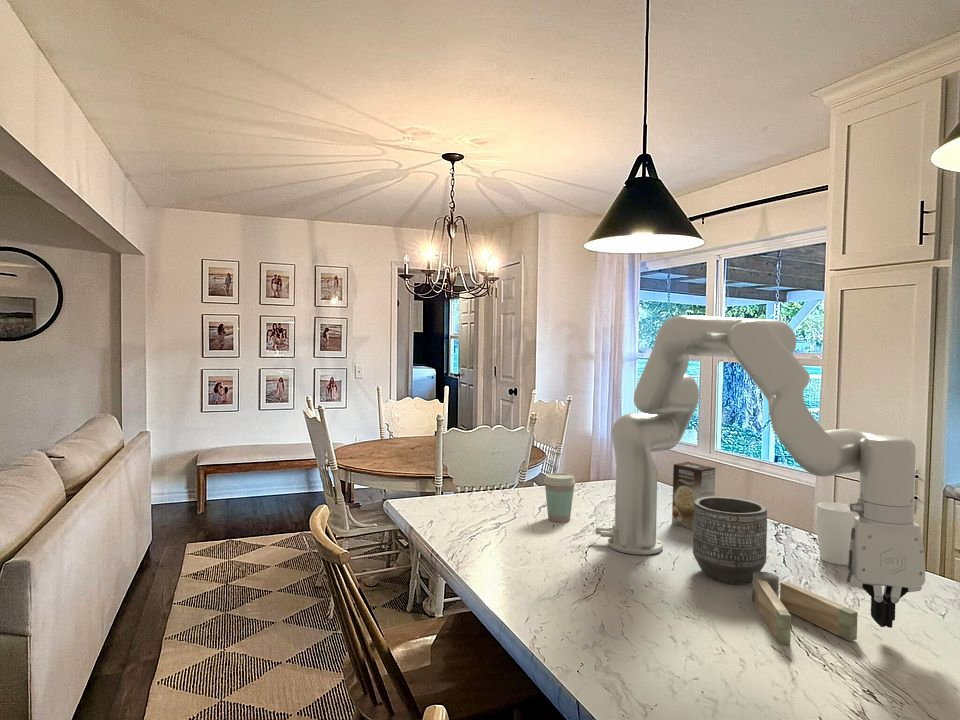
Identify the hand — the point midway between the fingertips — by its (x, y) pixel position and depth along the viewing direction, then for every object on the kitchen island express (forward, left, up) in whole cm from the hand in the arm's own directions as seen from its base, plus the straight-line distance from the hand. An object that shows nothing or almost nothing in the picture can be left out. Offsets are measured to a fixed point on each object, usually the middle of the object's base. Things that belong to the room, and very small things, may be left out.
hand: (882, 623), depth 103 cm
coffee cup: (-56, +59, -3) cm, 81 cm away
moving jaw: (-9, +4, -2) cm, 10 cm away
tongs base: (-15, +5, -3) cm, 16 cm away
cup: (+7, +40, -3) cm, 41 cm away
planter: (-19, +25, -3) cm, 32 cm away
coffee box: (-21, +61, -3) cm, 65 cm away
